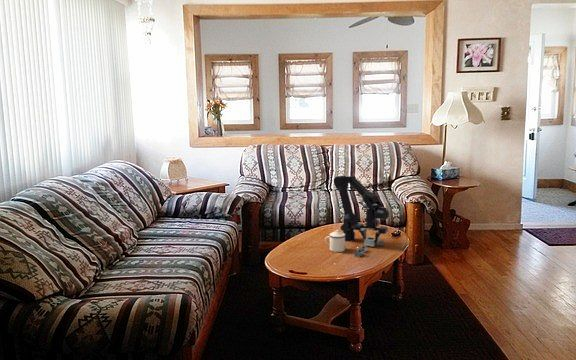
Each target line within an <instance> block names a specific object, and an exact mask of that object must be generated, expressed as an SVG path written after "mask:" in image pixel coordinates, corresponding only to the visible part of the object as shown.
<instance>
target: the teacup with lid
mask: <svg viewBox="0 0 576 360" xmlns="http://www.w3.org/2000/svg"><path fill="white" fill-rule="evenodd" d="M345 236H346V235H345V234H344V233H343V231H342V232H341V231H340V229H336V230H334V231H333V232H330V233H329V234H328V236H326V237H324V242H325V243H326V245H328V246H329V251H331V252H334V253H341V252H344V251H346V241H345ZM327 238H328V239H329V241H327V240H328V239H327Z"/></svg>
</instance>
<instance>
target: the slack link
mask: <svg viewBox="0 0 576 360" xmlns="http://www.w3.org/2000/svg"><path fill="white" fill-rule="evenodd" d="M359 247H360V250H363V254H365V253H366V252H368V246H366V245H362V246H359Z"/></svg>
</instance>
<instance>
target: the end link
mask: <svg viewBox="0 0 576 360" xmlns="http://www.w3.org/2000/svg"><path fill="white" fill-rule="evenodd" d="M376 244H377V243H376ZM376 244H375V236H366V238H365V239H363V246H366V247H375V245H376Z"/></svg>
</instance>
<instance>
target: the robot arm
mask: <svg viewBox="0 0 576 360" xmlns="http://www.w3.org/2000/svg"><path fill="white" fill-rule="evenodd" d="M333 184H334V186H335V187H334V188H335V189H336V190H337V191H338V193H339V196H340V199H341V205H342V209H343V212H344V215H343V216H344V217H343V223H342V224H341V225H340V230H341V231H342V233H344V234H345V235H346V236H345V242H346V241H347V242H354V240H355V238H356V232H355V231H358V233H360V234H361V236H362V239H363V240H364V239H365V238H366V237H367V230H369V231H376V232H375V233H374V234H375V235H374V238H375V244H376V243H377V241H378V238H380V235H382V234H383V235H385V234H387V233H388V232H389V228H388V227H387V226H384V225H382V226H380V222H381V221H380V220H383V221H386V220H387V219H388V218H389V215H390V213H389V210H388V209H387V207H384V206H383V205H382V203H381V201H380V199H379V196H378V195H377V194H375V193H374V192H372V191H370V190H368V189H367V188H366V187H365V186H364V185H363V184H362V183H361V181H359V179H357V177H356V176H355V175H348V176H346V175H345V174H344V175H337V176H335V177H334V179H333ZM349 185H350V186H351V187H352V188H353V189H354V190H355V191H356V192H357V193H358V194H359V195H360V196H361V198H362V201H363V202H364V204H365V205H364V206H363V207H362V208H363V209H366V210H365V214H366V215H365V217H366V218H364V220H365V224H364V223H359V222H360V221H359V217H358V215H357V214H355V213H354V212H353V208H352V203H351V200H350V196H349V191H348V187H349ZM378 219H379V220H378Z"/></svg>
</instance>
